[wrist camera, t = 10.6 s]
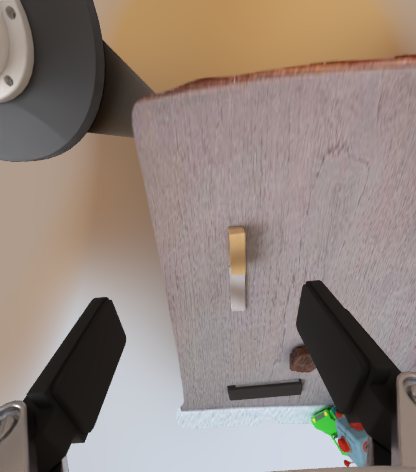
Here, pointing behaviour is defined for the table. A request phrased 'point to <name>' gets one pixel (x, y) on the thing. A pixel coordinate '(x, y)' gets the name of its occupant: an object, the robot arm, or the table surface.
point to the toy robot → (352, 440)
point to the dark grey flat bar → (265, 389)
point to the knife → (237, 267)
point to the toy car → (327, 423)
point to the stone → (301, 360)
